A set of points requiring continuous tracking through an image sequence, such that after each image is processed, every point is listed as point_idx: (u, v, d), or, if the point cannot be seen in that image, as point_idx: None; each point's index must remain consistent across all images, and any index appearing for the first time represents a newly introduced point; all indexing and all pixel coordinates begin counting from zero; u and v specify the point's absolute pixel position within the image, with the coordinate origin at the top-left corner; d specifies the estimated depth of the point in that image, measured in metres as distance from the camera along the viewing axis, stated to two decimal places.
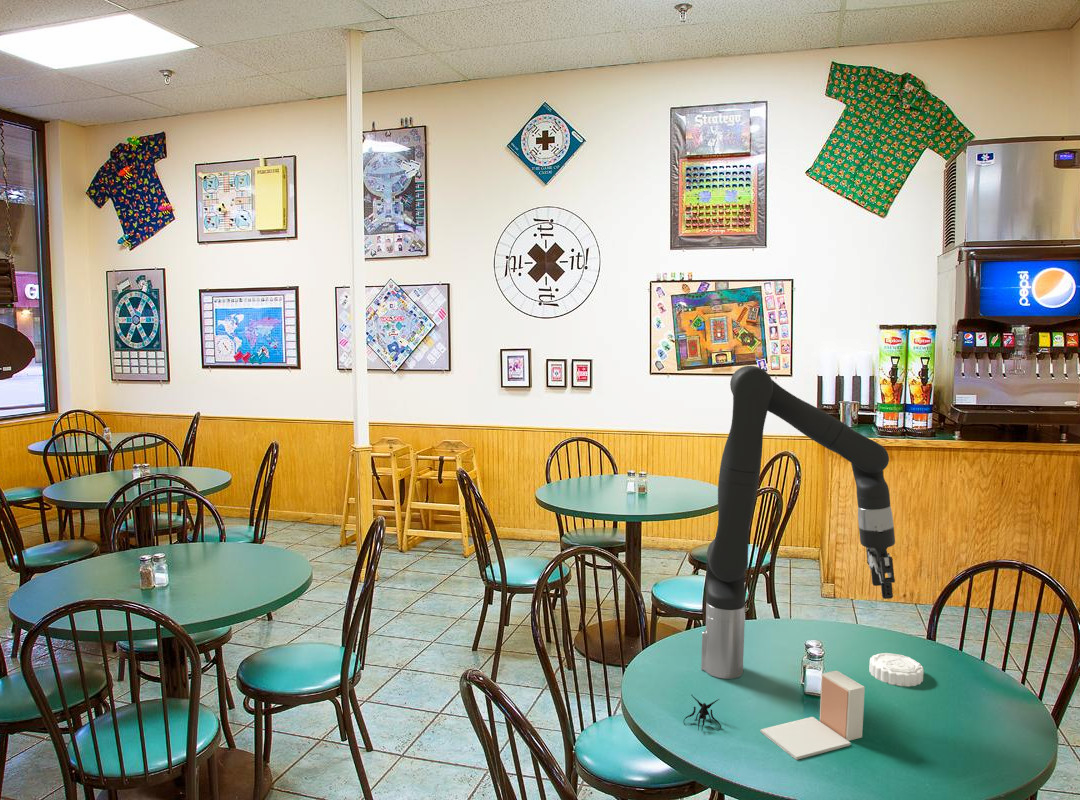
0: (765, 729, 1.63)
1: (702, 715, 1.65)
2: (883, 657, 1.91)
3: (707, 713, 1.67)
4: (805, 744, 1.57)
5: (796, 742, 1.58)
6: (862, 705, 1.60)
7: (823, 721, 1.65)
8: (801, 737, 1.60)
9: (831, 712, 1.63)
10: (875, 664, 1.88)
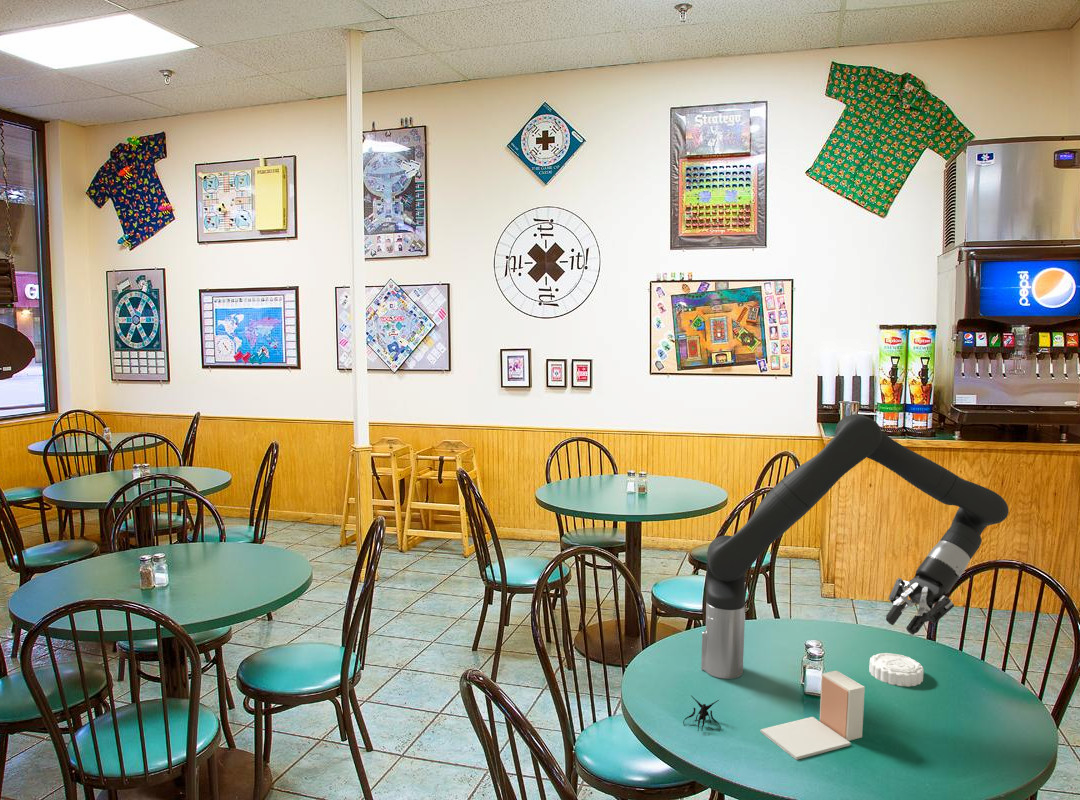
0: (765, 729, 1.63)
1: (702, 716, 1.65)
2: (883, 657, 1.91)
3: (707, 714, 1.67)
4: (805, 744, 1.57)
5: (796, 742, 1.58)
6: (862, 705, 1.60)
7: (823, 721, 1.65)
8: (801, 737, 1.60)
9: (831, 712, 1.63)
10: (875, 664, 1.88)
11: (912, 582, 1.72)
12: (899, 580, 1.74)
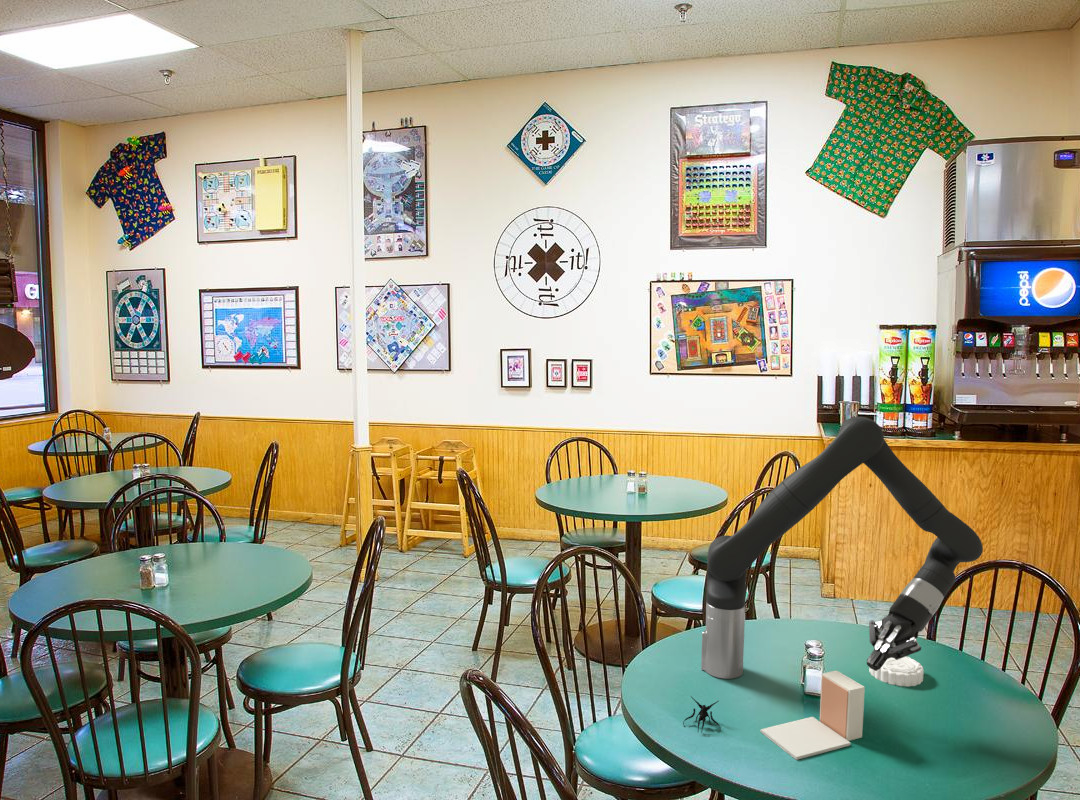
0: (765, 729, 1.63)
1: (702, 717, 1.65)
2: None
3: (707, 715, 1.67)
4: (805, 744, 1.57)
5: (796, 742, 1.58)
6: (862, 705, 1.60)
7: (823, 721, 1.65)
8: (801, 737, 1.60)
9: (831, 712, 1.63)
10: None
11: (886, 620, 1.70)
12: (872, 622, 1.72)
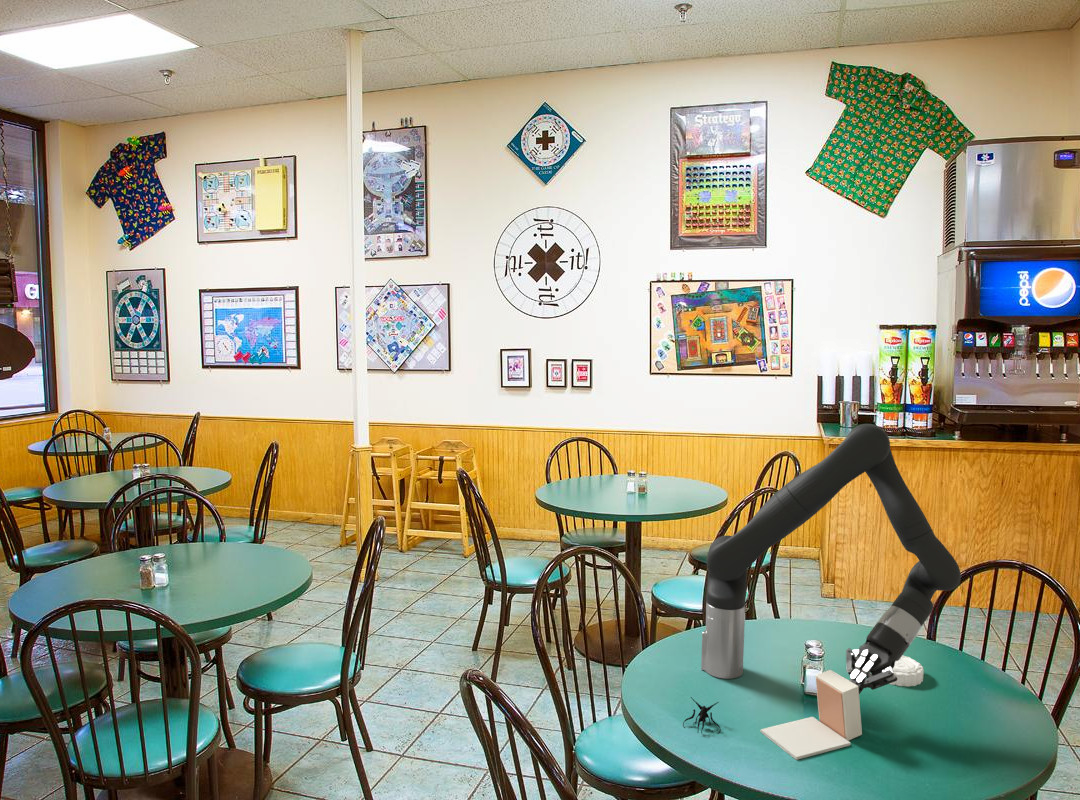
0: (765, 729, 1.63)
1: (702, 718, 1.64)
2: None
3: (707, 716, 1.66)
4: (805, 744, 1.57)
5: (796, 742, 1.58)
6: (858, 704, 1.60)
7: (823, 721, 1.65)
8: (801, 737, 1.60)
9: (829, 713, 1.63)
10: None
11: (863, 648, 1.68)
12: (849, 650, 1.70)
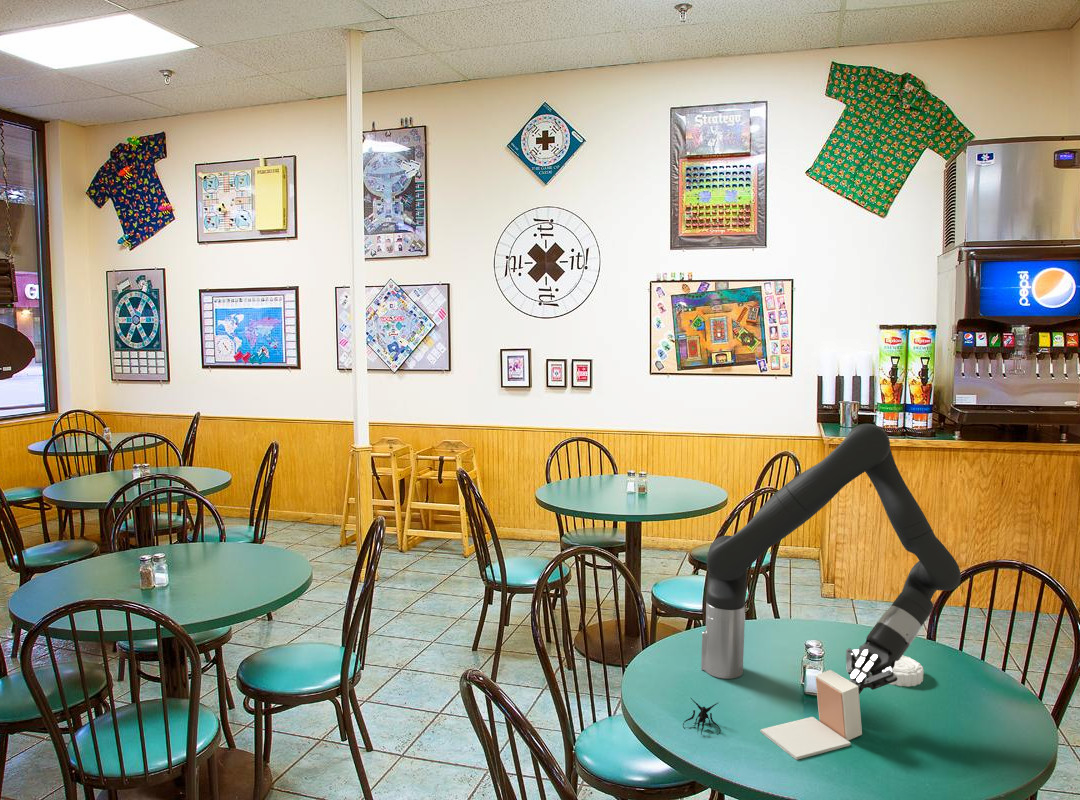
0: (765, 729, 1.63)
1: (701, 718, 1.64)
2: None
3: (707, 716, 1.66)
4: (805, 744, 1.57)
5: (796, 742, 1.58)
6: (858, 704, 1.60)
7: (823, 721, 1.65)
8: (801, 737, 1.60)
9: (829, 713, 1.63)
10: None
11: (863, 648, 1.68)
12: (849, 650, 1.70)
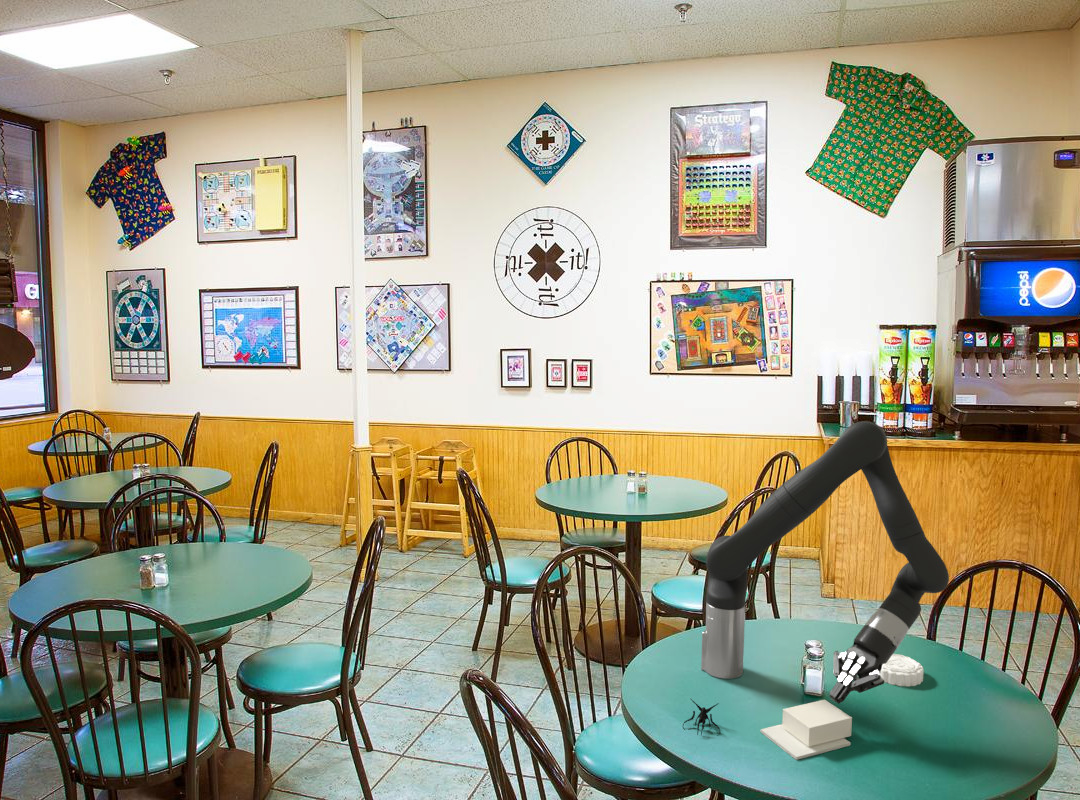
0: (765, 729, 1.63)
1: (701, 719, 1.64)
2: None
3: (707, 717, 1.66)
4: None
5: (796, 742, 1.58)
6: (824, 725, 1.57)
7: None
8: None
9: None
10: None
11: (850, 651, 1.67)
12: (836, 653, 1.69)
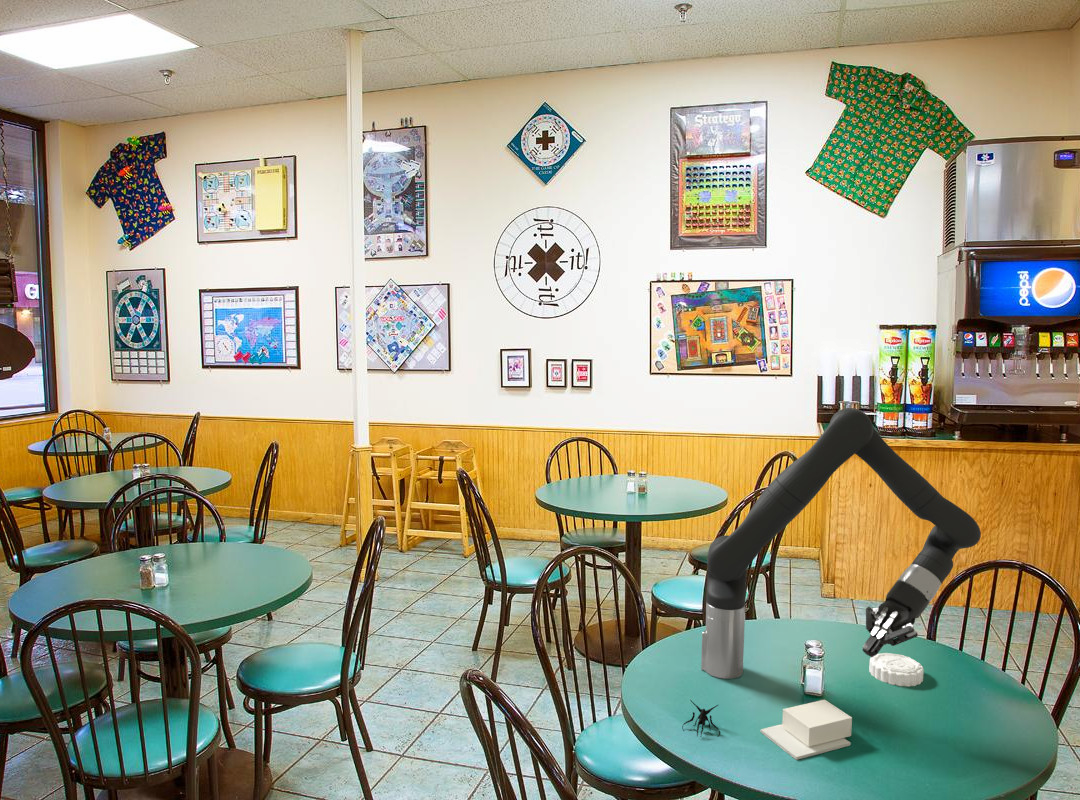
0: (765, 729, 1.63)
1: (701, 721, 1.63)
2: (883, 657, 1.91)
3: (706, 719, 1.65)
4: None
5: (796, 742, 1.58)
6: (824, 725, 1.57)
7: None
8: None
9: None
10: (875, 664, 1.88)
11: (882, 606, 1.69)
12: (869, 609, 1.70)
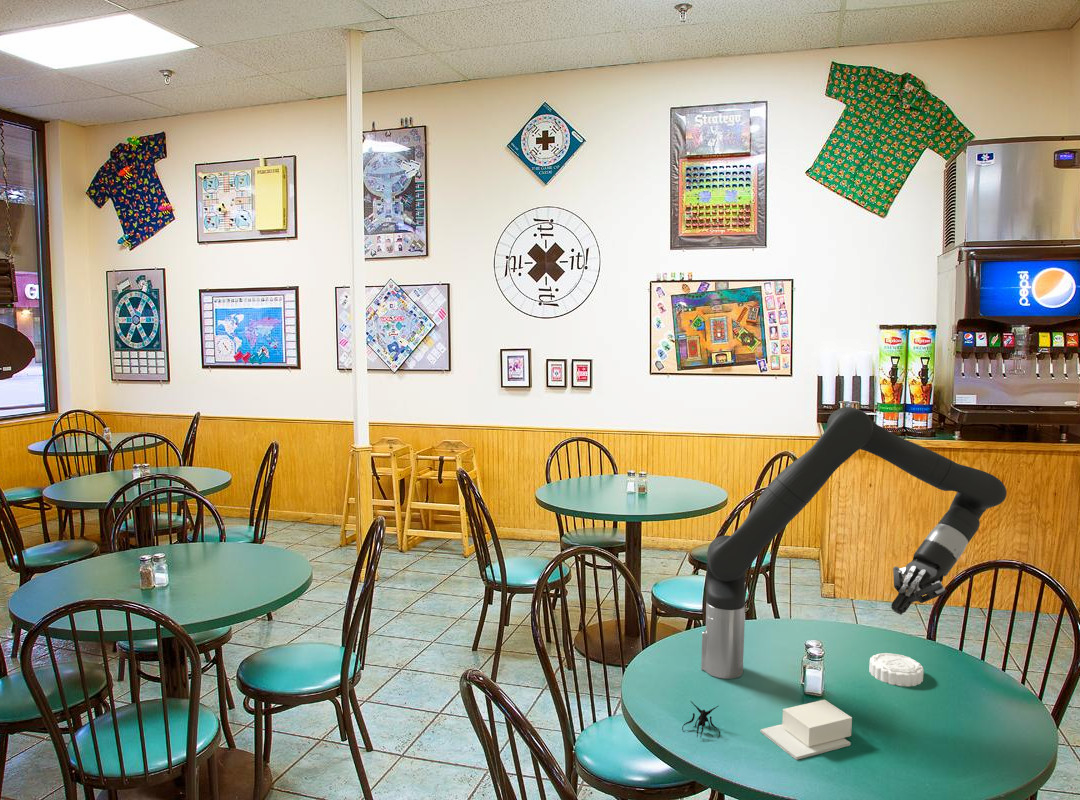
0: (765, 729, 1.63)
1: (701, 722, 1.63)
2: (883, 657, 1.91)
3: (706, 720, 1.65)
4: None
5: (796, 742, 1.58)
6: (824, 725, 1.57)
7: None
8: None
9: None
10: (875, 664, 1.88)
11: (910, 565, 1.71)
12: (896, 568, 1.73)
